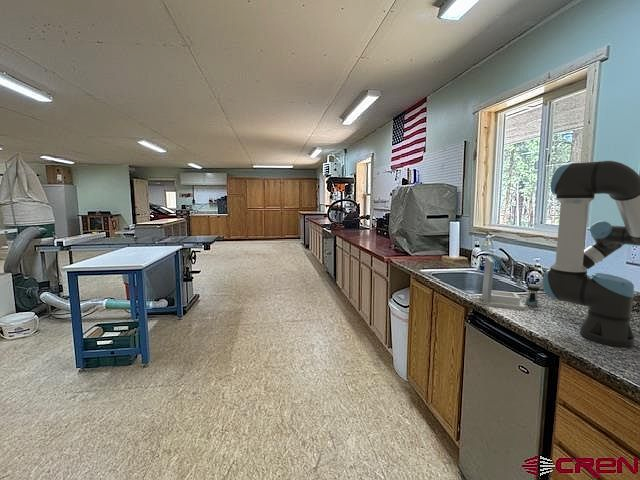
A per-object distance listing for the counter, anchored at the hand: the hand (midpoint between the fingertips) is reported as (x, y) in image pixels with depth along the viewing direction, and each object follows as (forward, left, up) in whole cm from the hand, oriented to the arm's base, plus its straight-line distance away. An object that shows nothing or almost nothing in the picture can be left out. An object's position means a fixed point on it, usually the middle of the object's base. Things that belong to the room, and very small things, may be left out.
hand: (547, 286), depth 160 cm
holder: (-3, +20, -10) cm, 22 cm away
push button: (-1, +6, -10) cm, 11 cm away
